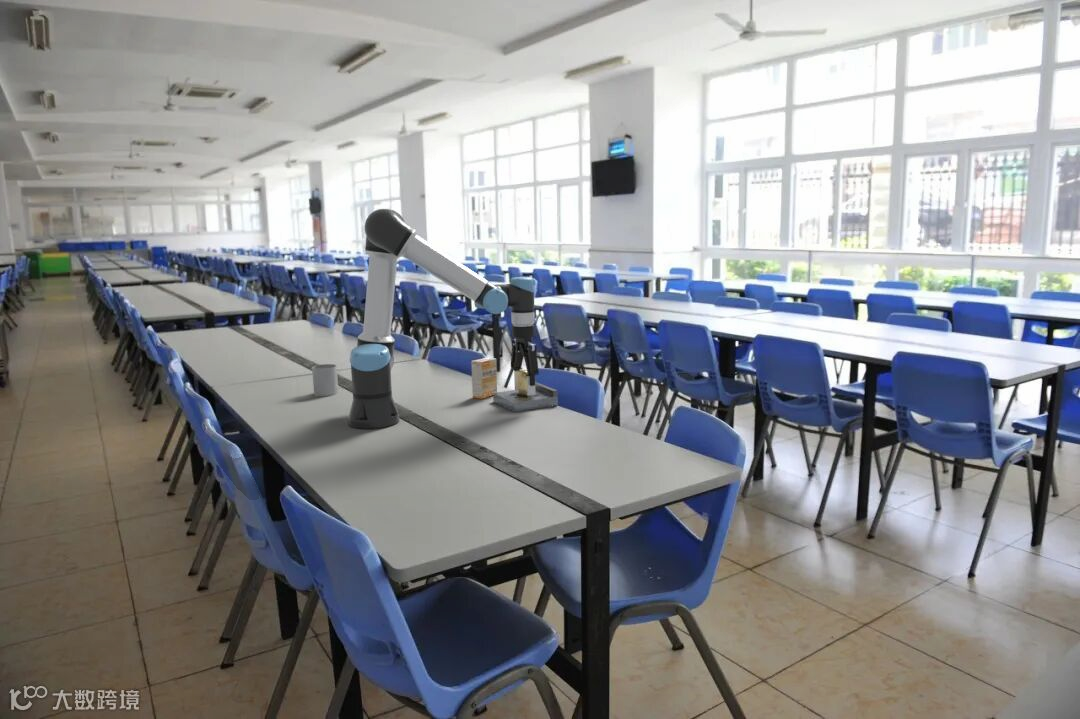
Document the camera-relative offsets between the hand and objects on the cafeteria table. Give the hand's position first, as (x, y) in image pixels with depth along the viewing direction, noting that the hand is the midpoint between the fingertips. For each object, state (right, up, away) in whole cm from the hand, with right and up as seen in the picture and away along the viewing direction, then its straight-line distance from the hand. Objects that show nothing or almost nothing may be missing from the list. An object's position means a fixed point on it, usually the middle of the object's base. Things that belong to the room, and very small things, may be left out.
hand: (524, 392), depth 249 cm
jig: (0, -4, +1) cm, 4 cm away
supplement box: (-14, -2, +12) cm, 19 cm away
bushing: (0, -4, +1) cm, 4 cm away
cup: (-72, -2, +21) cm, 75 cm away
